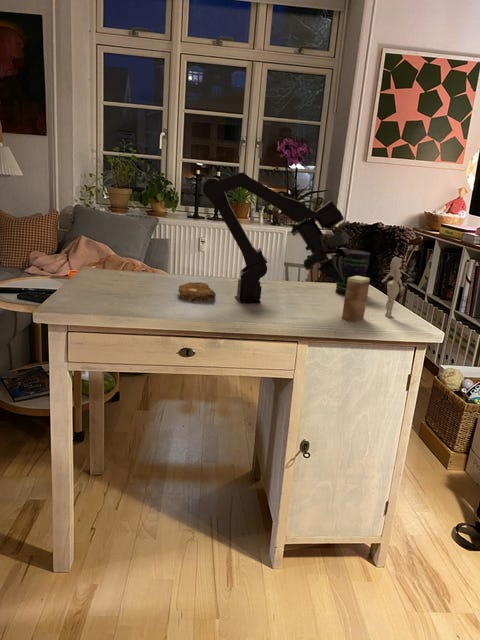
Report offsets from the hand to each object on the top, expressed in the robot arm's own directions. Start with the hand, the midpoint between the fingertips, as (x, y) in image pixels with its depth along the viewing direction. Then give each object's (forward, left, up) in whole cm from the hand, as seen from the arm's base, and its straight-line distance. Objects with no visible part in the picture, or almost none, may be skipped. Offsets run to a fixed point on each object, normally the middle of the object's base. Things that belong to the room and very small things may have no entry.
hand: (342, 282), depth 146 cm
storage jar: (+18, +26, -10) cm, 33 cm away
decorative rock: (-39, +19, -10) cm, 44 cm away
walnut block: (+3, -4, -10) cm, 11 cm away
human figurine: (+15, -2, -10) cm, 19 cm away
